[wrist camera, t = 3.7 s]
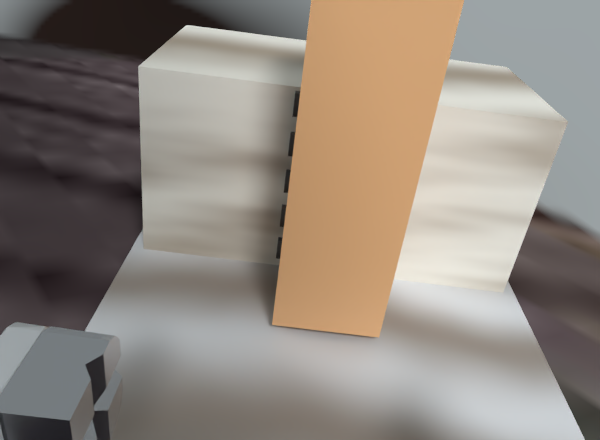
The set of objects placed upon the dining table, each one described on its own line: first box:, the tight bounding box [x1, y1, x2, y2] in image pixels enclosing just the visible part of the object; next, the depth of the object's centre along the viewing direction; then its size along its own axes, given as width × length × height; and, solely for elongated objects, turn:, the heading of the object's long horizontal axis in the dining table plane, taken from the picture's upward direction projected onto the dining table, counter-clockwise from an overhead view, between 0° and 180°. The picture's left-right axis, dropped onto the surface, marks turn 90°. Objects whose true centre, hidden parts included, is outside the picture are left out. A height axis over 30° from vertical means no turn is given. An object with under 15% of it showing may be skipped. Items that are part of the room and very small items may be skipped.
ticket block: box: [85, 25, 585, 440], centre depth 20 cm, size 22×17×9 cm
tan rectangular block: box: [272, 0, 464, 338], centre depth 19 cm, size 4×4×13 cm
